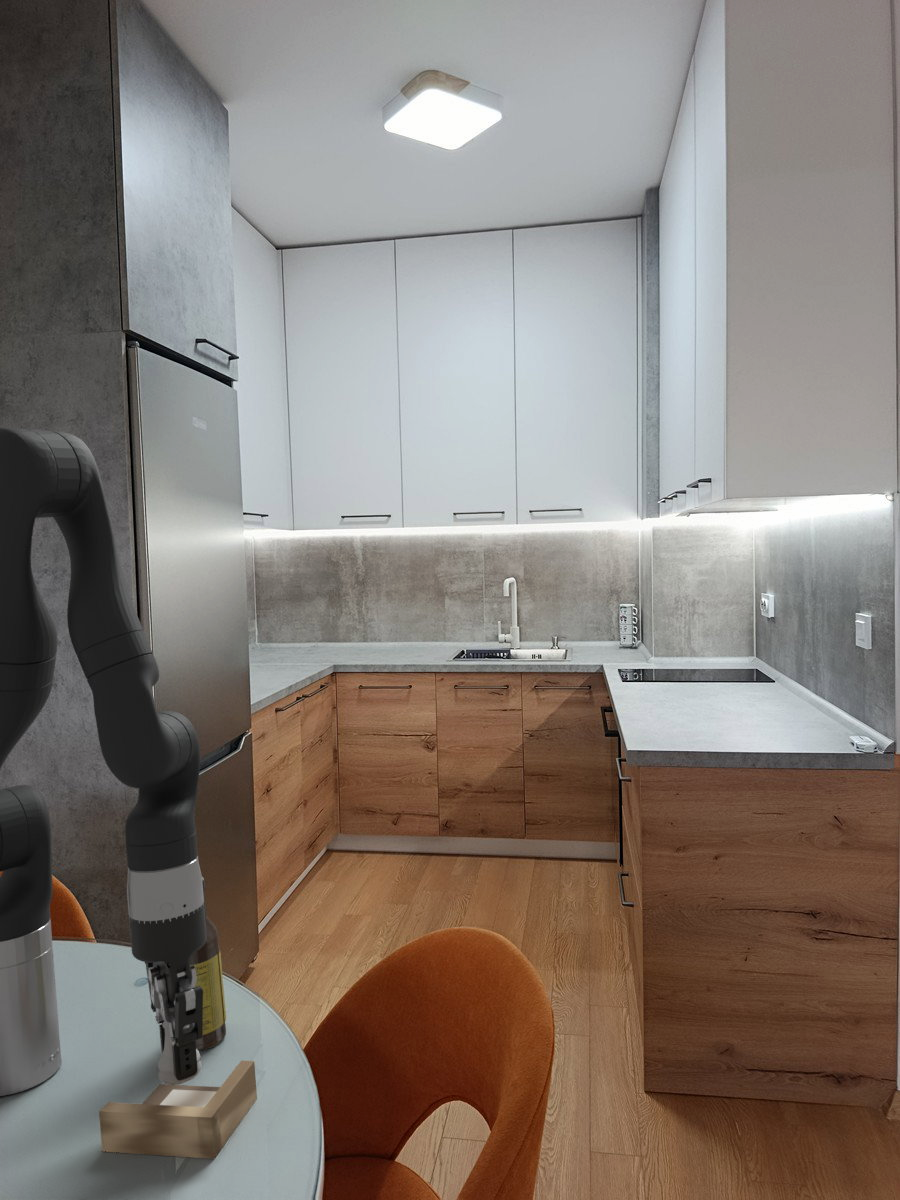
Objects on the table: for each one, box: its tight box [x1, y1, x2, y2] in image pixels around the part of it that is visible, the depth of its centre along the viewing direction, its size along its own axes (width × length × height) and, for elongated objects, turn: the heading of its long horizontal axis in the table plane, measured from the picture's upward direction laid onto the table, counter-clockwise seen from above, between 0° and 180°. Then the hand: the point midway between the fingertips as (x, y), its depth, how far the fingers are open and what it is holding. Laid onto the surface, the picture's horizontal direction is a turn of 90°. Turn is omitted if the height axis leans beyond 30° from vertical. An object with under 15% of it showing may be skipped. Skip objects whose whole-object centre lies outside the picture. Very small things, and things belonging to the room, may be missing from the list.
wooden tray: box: [98, 1060, 258, 1160], centre depth 89 cm, size 12×11×4 cm
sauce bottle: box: [189, 876, 227, 1052], centre depth 105 cm, size 6×6×20 cm
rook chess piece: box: [157, 1007, 203, 1085], centre depth 90 cm, size 4×4×8 cm
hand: (179, 1065), depth 90 cm, fingers closed on rook chess piece, 4 cm apart
